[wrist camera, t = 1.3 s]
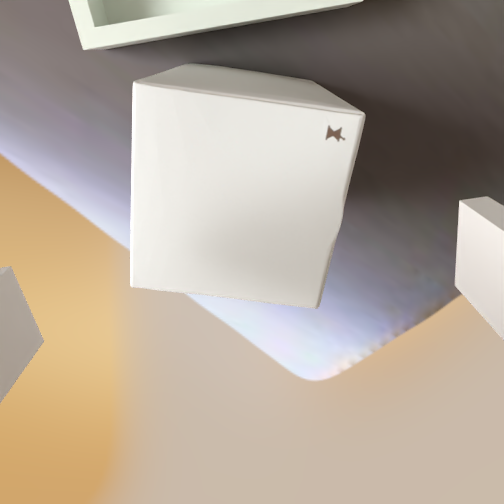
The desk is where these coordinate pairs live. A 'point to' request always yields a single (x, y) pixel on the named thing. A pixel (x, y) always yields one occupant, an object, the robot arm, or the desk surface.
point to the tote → (178, 17)
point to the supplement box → (238, 183)
